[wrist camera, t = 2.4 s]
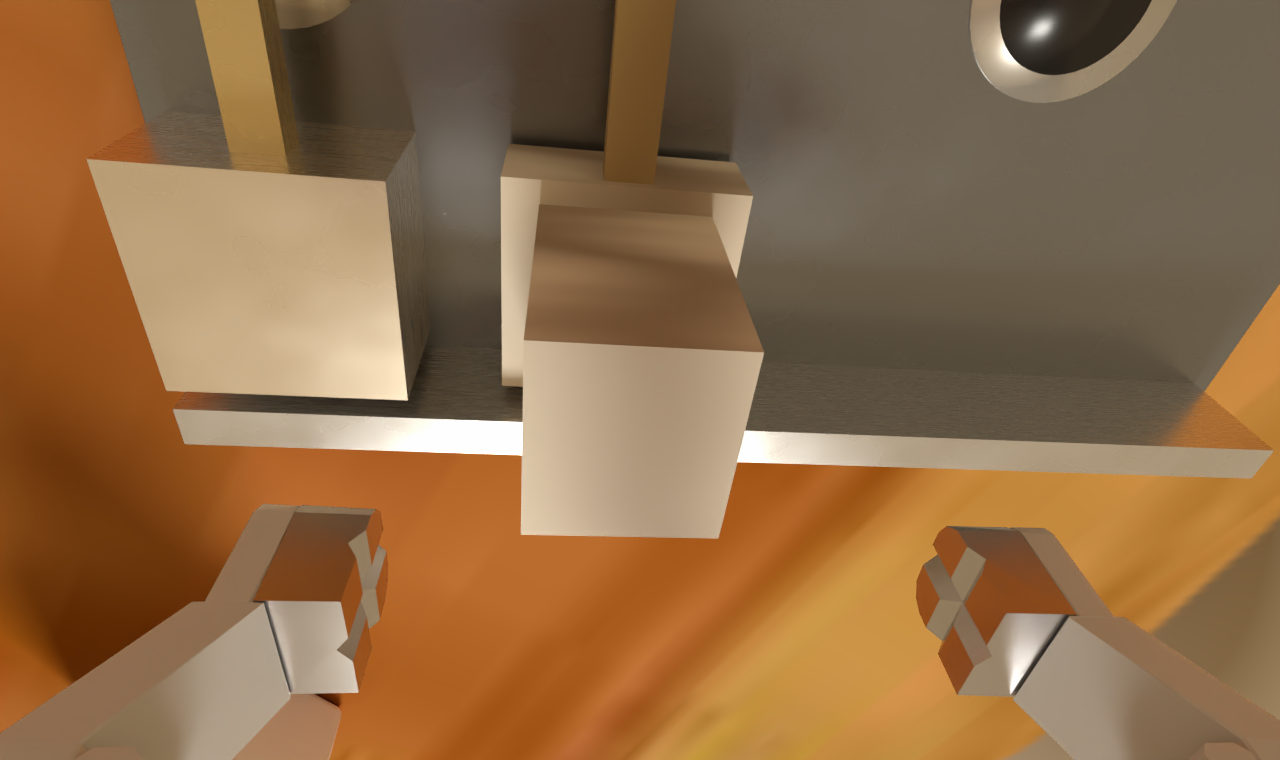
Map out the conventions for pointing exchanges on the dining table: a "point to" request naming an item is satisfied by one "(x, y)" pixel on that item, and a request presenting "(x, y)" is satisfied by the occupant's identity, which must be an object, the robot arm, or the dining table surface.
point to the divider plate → (776, 231)
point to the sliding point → (627, 315)
